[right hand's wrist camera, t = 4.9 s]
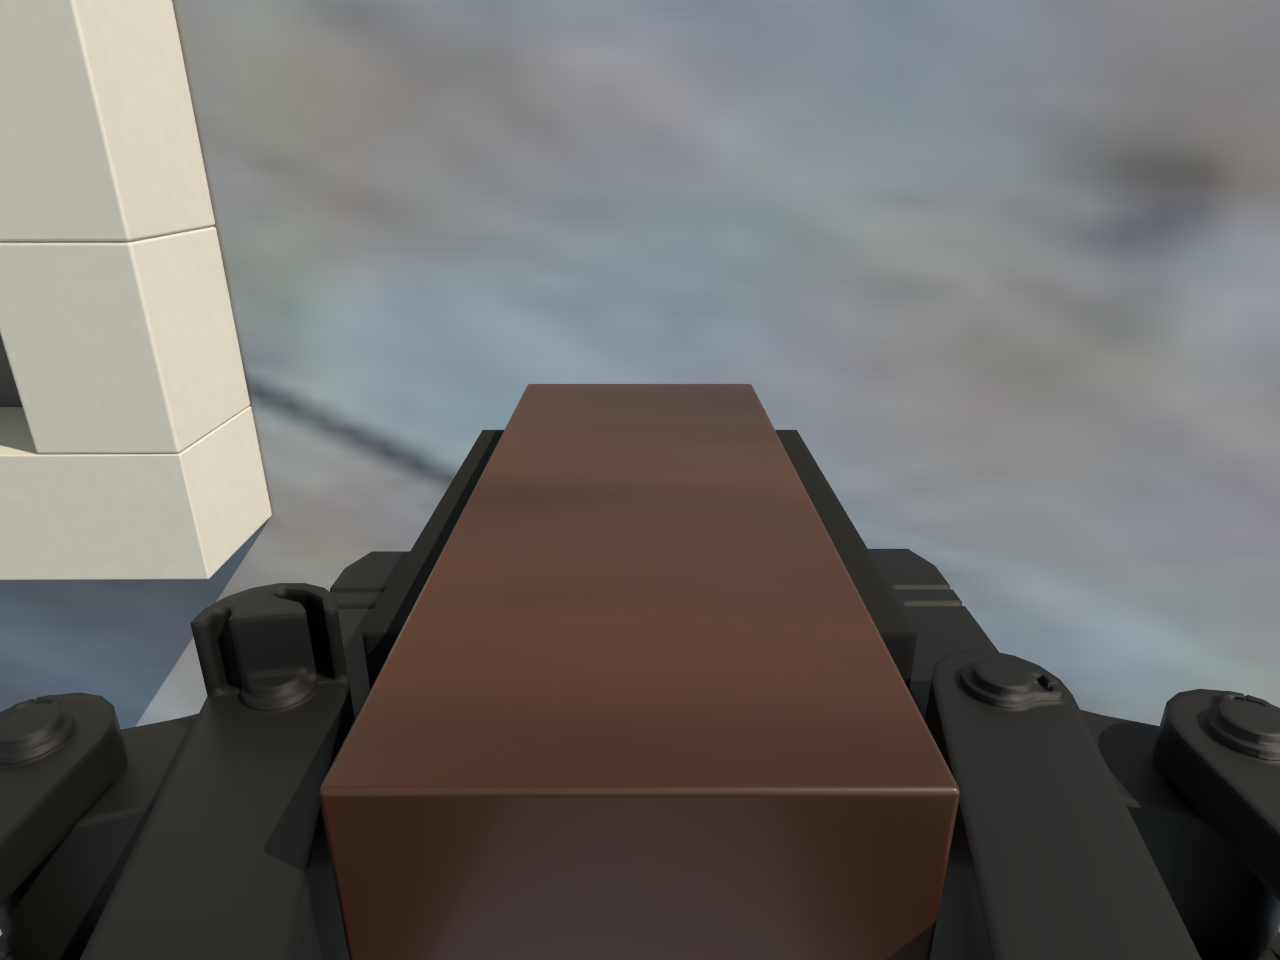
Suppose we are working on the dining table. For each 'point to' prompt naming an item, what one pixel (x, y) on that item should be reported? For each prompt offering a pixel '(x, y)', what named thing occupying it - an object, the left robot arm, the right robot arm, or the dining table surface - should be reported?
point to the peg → (639, 714)
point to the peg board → (114, 308)
